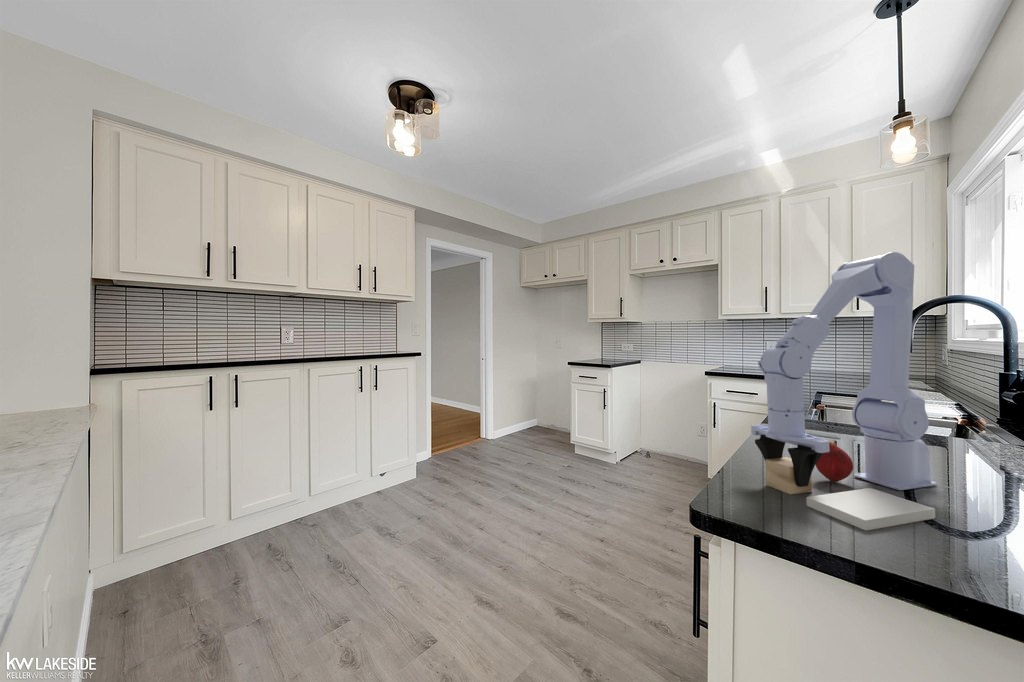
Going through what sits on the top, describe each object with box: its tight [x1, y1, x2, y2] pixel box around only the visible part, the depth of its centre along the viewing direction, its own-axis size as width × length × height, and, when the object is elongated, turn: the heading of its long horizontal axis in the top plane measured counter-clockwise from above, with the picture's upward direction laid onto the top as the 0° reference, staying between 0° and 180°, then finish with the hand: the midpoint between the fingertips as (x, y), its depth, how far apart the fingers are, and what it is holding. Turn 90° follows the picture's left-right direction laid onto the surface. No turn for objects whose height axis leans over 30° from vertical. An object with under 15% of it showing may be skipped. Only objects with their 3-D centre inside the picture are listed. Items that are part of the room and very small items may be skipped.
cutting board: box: [806, 487, 936, 531], centre depth 63 cm, size 14×9×2 cm, turn 102°
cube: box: [764, 456, 813, 496], centre depth 73 cm, size 5×5×5 cm
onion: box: [815, 440, 854, 483], centre depth 76 cm, size 6×6×8 cm
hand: (788, 480), depth 73 cm, fingers closed on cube, 5 cm apart
